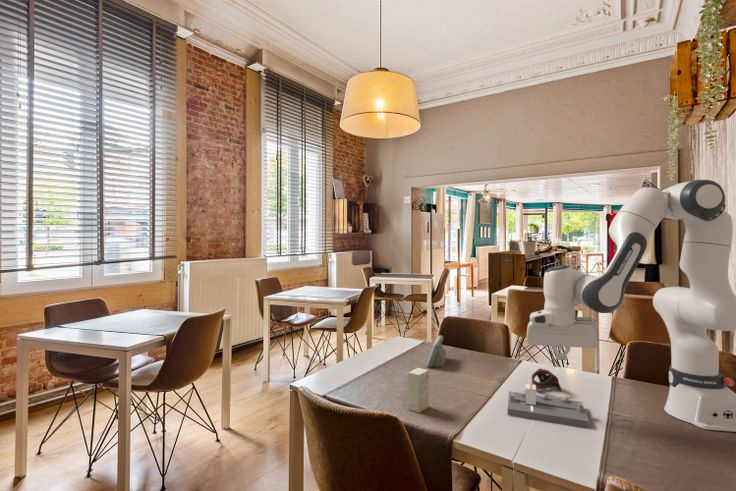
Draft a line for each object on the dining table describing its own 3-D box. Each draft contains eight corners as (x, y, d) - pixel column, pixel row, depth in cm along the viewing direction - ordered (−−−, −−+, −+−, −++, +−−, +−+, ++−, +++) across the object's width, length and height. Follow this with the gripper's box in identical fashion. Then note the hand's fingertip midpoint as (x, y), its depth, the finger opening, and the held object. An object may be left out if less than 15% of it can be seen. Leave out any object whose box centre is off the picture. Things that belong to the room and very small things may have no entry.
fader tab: (535, 400, 124) (535, 384, 124) (535, 405, 120) (535, 388, 120) (525, 398, 125) (525, 383, 125) (525, 403, 122) (525, 387, 122)
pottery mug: (568, 396, 133) (559, 378, 131) (542, 406, 135) (533, 389, 133) (553, 375, 145) (545, 358, 143) (529, 385, 146) (521, 368, 144)
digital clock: (432, 356, 177) (432, 333, 177) (451, 359, 173) (451, 336, 172) (419, 366, 163) (419, 342, 163) (439, 370, 159) (439, 345, 158)
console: (581, 407, 124) (581, 395, 123) (588, 428, 111) (588, 414, 111) (509, 397, 132) (509, 385, 132) (507, 414, 119) (507, 402, 119)
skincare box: (419, 413, 120) (419, 375, 120) (407, 409, 123) (407, 372, 123) (429, 406, 125) (429, 369, 125) (417, 402, 128) (417, 366, 128)
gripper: (595, 315, 121) (597, 358, 121) (525, 313, 128) (527, 354, 129) (599, 319, 115) (600, 365, 115) (525, 317, 123) (527, 360, 123)
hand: (561, 359), depth 122 cm, fingers closed
